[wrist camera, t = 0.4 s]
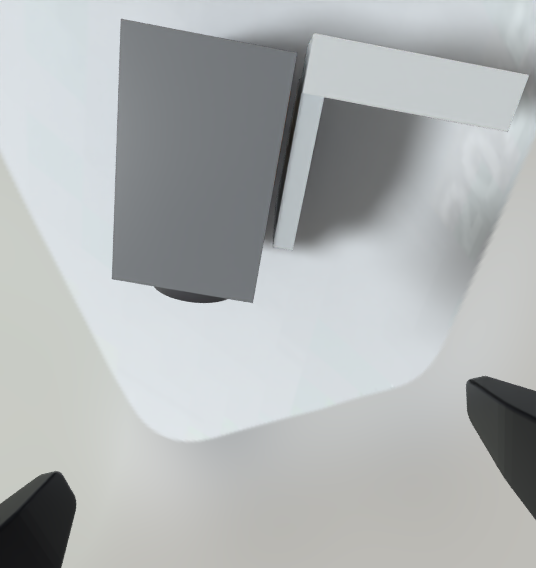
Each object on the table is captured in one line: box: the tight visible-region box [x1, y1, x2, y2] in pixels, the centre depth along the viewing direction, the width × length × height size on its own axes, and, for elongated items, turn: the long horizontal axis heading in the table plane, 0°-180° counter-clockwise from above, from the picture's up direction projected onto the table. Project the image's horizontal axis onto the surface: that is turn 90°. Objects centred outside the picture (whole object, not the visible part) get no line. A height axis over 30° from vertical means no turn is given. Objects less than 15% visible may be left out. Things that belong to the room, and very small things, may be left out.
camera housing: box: [112, 19, 297, 303], centre depth 18 cm, size 9×5×8 cm, turn 170°
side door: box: [273, 33, 529, 251], centre depth 17 cm, size 6×6×7 cm
